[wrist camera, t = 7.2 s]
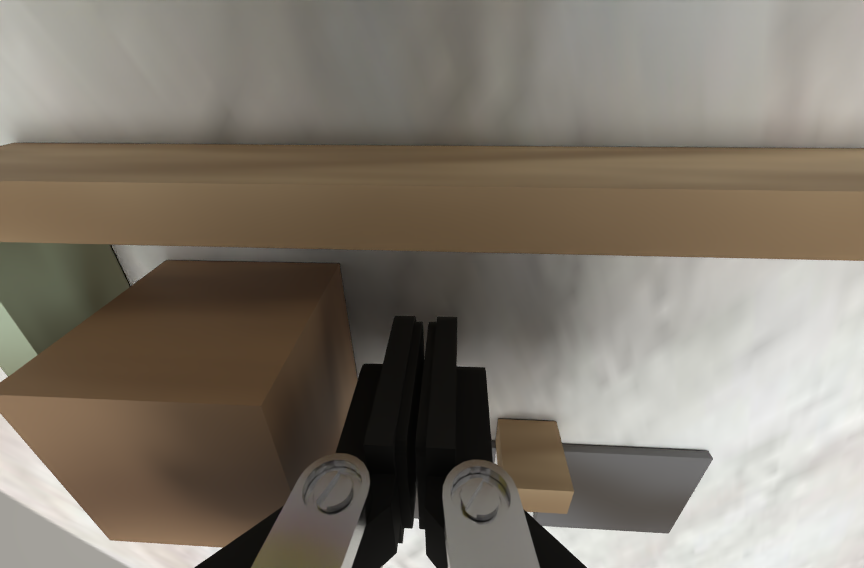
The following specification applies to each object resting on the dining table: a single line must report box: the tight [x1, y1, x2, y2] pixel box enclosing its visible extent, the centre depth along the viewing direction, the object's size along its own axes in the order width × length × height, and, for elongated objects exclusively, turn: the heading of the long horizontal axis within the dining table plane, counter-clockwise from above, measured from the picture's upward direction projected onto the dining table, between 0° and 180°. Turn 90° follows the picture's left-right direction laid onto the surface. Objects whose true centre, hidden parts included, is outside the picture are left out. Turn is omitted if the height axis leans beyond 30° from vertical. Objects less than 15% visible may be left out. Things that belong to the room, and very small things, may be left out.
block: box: [0, 260, 358, 547], centre depth 10 cm, size 5×5×5 cm
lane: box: [0, 143, 864, 533], centre depth 12 cm, size 15×20×3 cm
